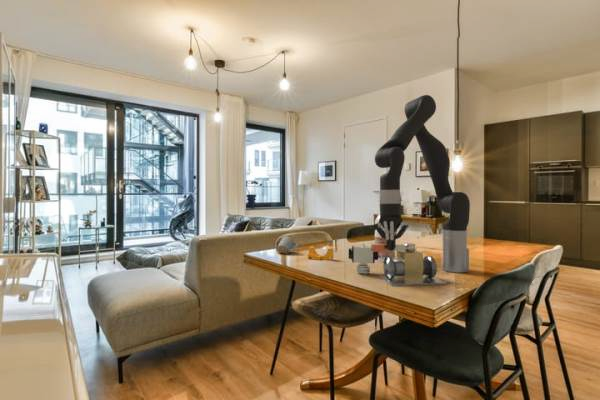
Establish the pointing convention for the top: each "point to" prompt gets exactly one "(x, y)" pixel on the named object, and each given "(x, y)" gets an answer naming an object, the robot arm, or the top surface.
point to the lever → (398, 248)
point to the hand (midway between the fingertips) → (391, 250)
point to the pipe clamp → (316, 256)
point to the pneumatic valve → (362, 257)
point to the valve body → (410, 269)
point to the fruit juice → (382, 241)
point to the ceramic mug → (286, 245)
